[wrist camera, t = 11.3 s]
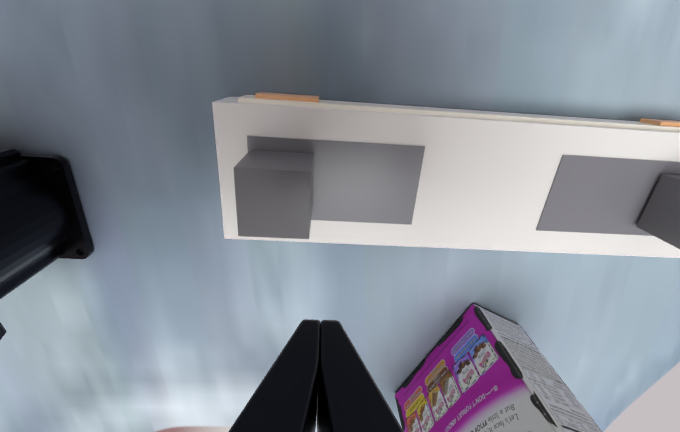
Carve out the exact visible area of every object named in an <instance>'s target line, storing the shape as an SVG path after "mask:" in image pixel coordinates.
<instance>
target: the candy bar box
mask: <svg viewBox="0 0 680 432" xmlns="http://www.w3.org/2000/svg"><path fill="white" fill-rule="evenodd" d="M395 399H396V403H397V407H398V412H399V417H400V421H401V425H402V429H403V431H404V432H602V431H601V430H600V429H599V427H598V426H597V425H596V423H595V422H594V421H593V419H592V418H591V416H590V415H589V414H588V413H587V411H586V410H585V409H584V407H583V406H582V405H581V404H580V403H579V401H578V400H577V399H576V398H575V396H574V395H573V394H572V392H571V391H570V390H569V388H568V387H567V386H566V384H565V383H564V382H563V381H562V379H561V378H560V377H559V375H558V374H557V373H556V372H555V370H554V369H553V368H552V366H551V365H550V364H549V362H548V361H547V360H546V358H545V357H544V356H543V355H542V353H541V352H540V351H539V350H538V348H537V347H536V346H535V344H534V343H533V342H532V340H531V339H530V338H529V336H528V335H527V334H526V332H525V331H524V330H523V329H522V328H521V326H520V325H518V324H516V323H515V322H513V321H511V320H509V319H506V318H503V317H500V316H498V315H496V314H494V313H492V312H490V311H488V310H486V309H484V308H482V307H479V306H477V305H475V304H473V305H471V306H470V307H469V308H468V309H467V310H466V312H465V313H464V314H463V315H462V316H461V317H460V319H459V320H458V321H457V322H456V323H455V325H454V326H453V327H452V328H451V329H450V331H449V332H448V333H447V334H446V335H445V336H444V338H443V339H442V340H441V341H440V342H439V344H438V345H437V346H436V347H435V348H434V350H433V351H432V352H431V353H430V354H429V356H428V357H427V358H426V359H425V360H424V361H423V363H422V364H421V365H420V366H419V367H418V369H417V370H416V371H415V372H414V374H413V375H412V376H411V377H410V378H409V379H408V380H407V382H406V383H405V384H404V385H403V386H402V388H401V389H400V390H399V391H398V392H397V393H396V394H395Z"/></svg>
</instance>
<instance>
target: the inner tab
mask: <svg viewBox="0 0 680 432" xmlns="http://www.w3.org/2000/svg"><path fill="white" fill-rule="evenodd" d="M233 169H234V183H235V197H236V211H237V225H238V236H245V237H269V238H292V239H309V236H310V227H311V218H312V203H313V174H314V153H297V152H280V151H263V150H250V151H249V152H248V153H247V154H246V155H245V156H244V157H243V158H242V159H241V160H240V161H239V162H238V163H237V164H236V165H235V167H234V168H233Z"/></svg>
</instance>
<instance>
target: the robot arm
mask: <svg viewBox="0 0 680 432" xmlns="http://www.w3.org/2000/svg"><path fill="white" fill-rule="evenodd" d="M55 163H56V164H58V166H59V168H57V167H56V166H55ZM81 249H82V250H83V251H84V252H83V251H81ZM92 252H93V248H92V245H91V241H90V238H89V234H88V231H87V227H86V224H85V220H84V217H83V213H82V210H81V206H80V203H79V199H78V196H77V192H76V189H75V186H74V182H73V179H72V175H71V172H70V168H69V165H68V163H67V161H66V160H65V159H64V158H62V157H59V156H50V155H32V154H21V152H20V151H18V150H16V149H14V148H1V147H0V299H1V298H3V297H4V296H6V295H7V294H8V293H10V292H11V291H13V290H14V289H15V288H17V287H18V286H20V285H21V284H23V283H24V282H25V281H27V280H28V279H30V278H31V277H32V276H34V275H35V274H37V273H38V272H40V271H41V270H42V269H44V268H45V267H47V266H48V265H49V264H51V263H52V262H54V261H55V260H56V259H58V258H71V259H85V258H87V257H88V256H90V255H91V254H92ZM320 326H321V328H320ZM5 333H6V330H5V328H4V327H3V325H2V324H1V323H0V340H1V338H2V337H3V336H4V334H5ZM317 398H318V399H317ZM316 416H317V432H404V431H403V430H402V428H401V426H400V424H399V423H398V421H397V419H396V418H395V416H394V414H393V413H392V411H391V409H390V407H389V406H388V404H387V402H386V401H385V399H384V397H383V395H382V394H381V392H380V390H379V389H378V387H377V385H376V383H375V382H374V380H373V378H372V377H371V375H370V373H369V371H368V370H367V368H366V366H365V365H364V363H363V361H362V359H361V358H360V356H359V354H358V353H357V351H356V349H355V347H354V346H353V344H352V342H351V341H350V339H349V337H348V336H347V334H346V332H345V330H344V329H343V327H342V325H341V324H340V322H339V321H337V320H323V321H321V323H320V321H319V320H306V319H305V320H303V321H302V322H301V323H300V324H299V326H298V327H297V329H296V330H295V332H294V333H293V335H292V337H291V338H290V340H289V341H288V343H287V344H286V346H285V347H284V349H283V350H282V352H281V353H280V355H279V356H278V358H277V359H276V361H275V362H274V364H273V365H272V367H271V368H270V370H269V371H268V373H267V374H266V376H265V377H264V379H263V380H262V382H261V383H260V385H259V386H258V388H257V389H256V391H255V393H254V394H253V396H252V397H251V399H250V400H249V402H248V403H247V405H246V406H245V408H244V409H243V411H242V412H241V414H240V415H239V417H238V418H237V420H236V421H235V423H234V424H233V426H232V427H231V429H230V430H229V432H315V429H316Z"/></svg>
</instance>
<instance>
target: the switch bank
mask: <svg viewBox="0 0 680 432" xmlns="http://www.w3.org/2000/svg"><path fill="white" fill-rule="evenodd" d="M212 107H213V118H214V129H215V140H216V151H217V162H218V173H219V184H220V195H221V206H222V217H223V228H224V239H246V240H269V241H293V242H317V243H340V244H364V245H387V246H411V247H434V248H458V249H481V250H505V251H528V252H552V253H575V254H599V255H622V256H646V257H670V258H680V249H678V248H676V247H674V246H672V245H671V244H669V243H667V242H665V241H663V240H661V239H659V238H657V237H655V236H653V235H651V234H649V233H647V232H645V231H643V230H641V229H640V228H638V227H636V226H637V224H638V222H639V220H640V218H641V216H642V214H643V212H644V210H645V208H646V206H647V204H648V202H649V200H650V198H651V196H652V194H653V192H654V190H655V188H656V186H657V184H658V182H659V180H660V178H661V176H662V174H672V175H680V121H673V120H658V119H644V118H641V119H640V121H639V122H638V121H624V120H609V119H595V118H580V117H565V116H551V115H536V114H521V113H507V112H492V111H478V110H463V109H448V108H434V107H419V106H405V105H390V104H375V103H361V102H346V101H332V100H319V96H311V95H297V94H282V93H268V92H258V93H256V94H255V95H244V96H241V97H227V98H224V99H220V100H217V101H213V102H212ZM250 150H263V151H280V152H297V153H314V174H313V203H312V218H311V227H310V236H309V239H292V238H269V237H245V236H238V225H237V211H236V197H235V183H234V169H233V168H234V167H235V165H236V164H237V163H238V162H239V161H240V160H241V159H242V158H243V157H244V156H245V155H246V154H247V153H248V152H249V151H250Z"/></svg>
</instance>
